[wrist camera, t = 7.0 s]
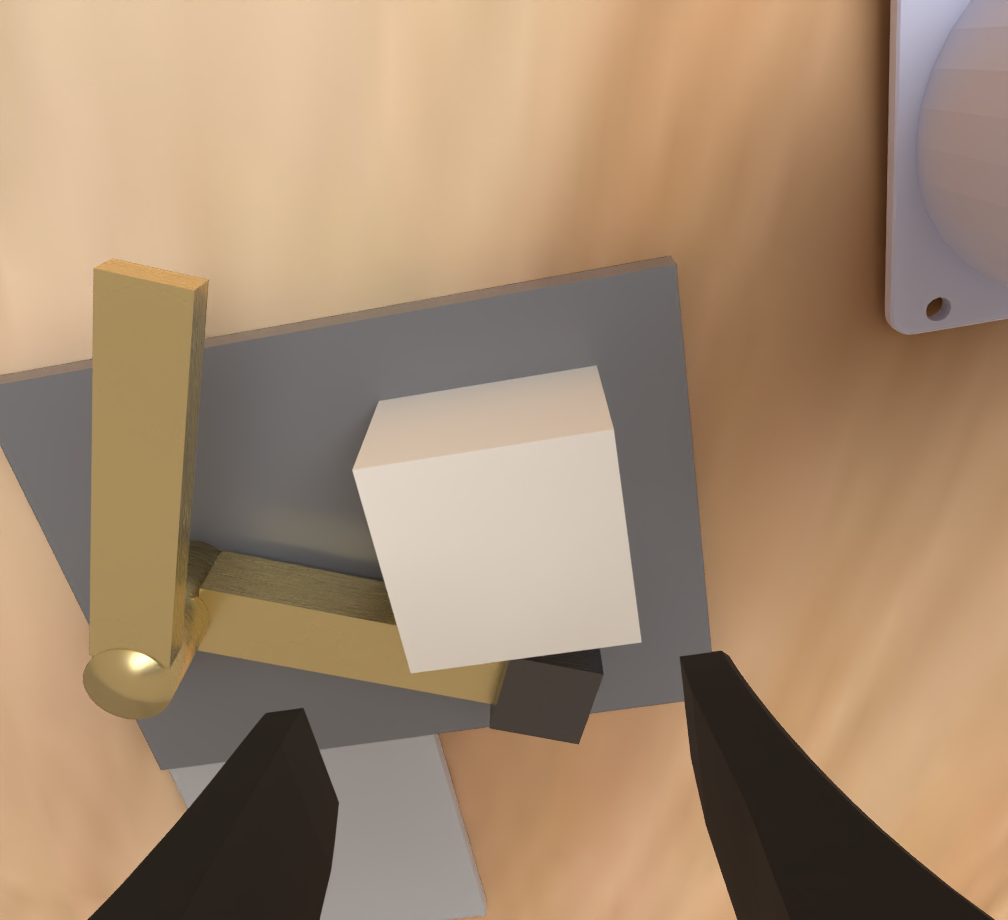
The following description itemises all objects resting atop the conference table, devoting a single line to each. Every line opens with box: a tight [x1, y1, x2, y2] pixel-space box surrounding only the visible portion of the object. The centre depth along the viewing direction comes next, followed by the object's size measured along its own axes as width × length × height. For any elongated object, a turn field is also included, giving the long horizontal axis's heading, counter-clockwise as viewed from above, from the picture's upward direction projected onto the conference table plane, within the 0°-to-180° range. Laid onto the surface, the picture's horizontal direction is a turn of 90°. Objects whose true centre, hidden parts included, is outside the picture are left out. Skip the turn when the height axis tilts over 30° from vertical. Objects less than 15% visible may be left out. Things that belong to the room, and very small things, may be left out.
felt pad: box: [169, 734, 487, 920], centre depth 26 cm, size 8×8×1 cm
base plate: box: [0, 256, 712, 770], centre depth 21 cm, size 16×12×1 cm
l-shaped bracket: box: [83, 259, 604, 744], centre depth 18 cm, size 10×11×4 cm
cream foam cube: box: [352, 365, 642, 673], centre depth 18 cm, size 5×5×4 cm
